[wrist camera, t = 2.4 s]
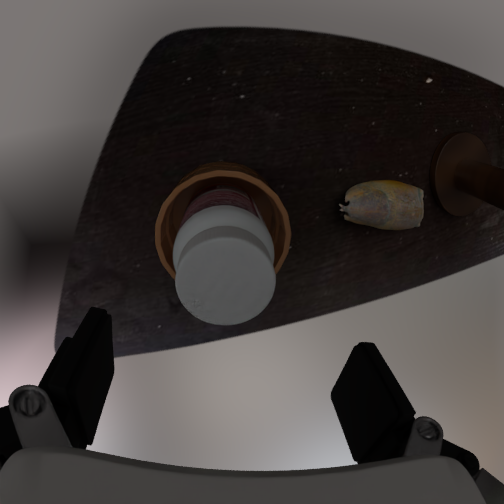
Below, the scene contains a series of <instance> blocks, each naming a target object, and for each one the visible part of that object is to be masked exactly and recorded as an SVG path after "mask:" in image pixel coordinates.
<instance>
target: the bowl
mask: <svg viewBox="0 0 504 504" xmlns="http://www.w3.org/2000/svg"><path fill="white" fill-rule="evenodd" d="M217 183H228V184H233V185H236V186H238V187H240V188H242V189H244V190H245V191H246V192H248V193H249V194H250V195H251V197H252V198H253V199H254V201H255V202H256V204H257V206H258V209H259V211H260V213H261V216H262V218H263V220H264V222H265V224H266V226H267V229H268V231H269V233H270V235H271V237H272V241H273V245H274V263H273V267H274V270H275V274H276V273H277V272H278V271H279V270H280V268H281V266H282V264H283V262H284V260H285V258H286V256H287V255H288V251H289V245H290V239H291V228H290V223H289V217H288V213H287V211H286V209H285V207H284V206H283V204H282V202H281V200H280V198H279V197H278V195H277V194H276V192H275V191H274V190H273V189H272V187H271V186H270V185H269V183H268V182H267V181H266V180H265V179H264V178H263V177H261V176H260V175H259V174H258V173H257V172H256V171H255V170H253V169H251V168H248V167H246V166H244V165H241V164H239V163H235V162H223V161H217V162H213V163H208V164H204V165H201V166H198V167H197V168H195V169H194V170H192V171H190V172H189V173H187V174H186V175H184V176H183V177H182V179H181V180H180V181H179V182H178V183H177V185H176V186H175V187H174V188H173V190H172V191H171V193H170V194H169V196H168V197H167V198H166V200H165V201H164V203H163V204H162V207H161V209H160V212H159V215H158V218H157V221H156V225H155V245H156V248H157V251H158V254H159V257H160V260H161V263H162V264H163V266H164V267H165V268H166V270H167V271H168V272H169V274H170V275H171V276H172V278H173V279H174V280H175V277H176V270H175V268H174V263H173V247H174V243H175V239H176V236H177V233H178V231H179V226H180V224H181V222H182V219H183V216H184V213H185V210H186V207H187V205H188V203H189V201H190V200H191V199H192V197H193V196H194V195H195V194H196V193H197V192H198V191H200V190H201V189H202V188H204V187H207V186H209V185H212V184H217Z"/></svg>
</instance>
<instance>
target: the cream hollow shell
mask: <svg viewBox="0 0 504 504" xmlns="http://www.w3.org/2000/svg"><path fill="white" fill-rule="evenodd" d="M345 194H346V197H345V202H347V201H348V200H349V201H350V203H349V205H348V206H344V205H342V204H339V206H340V207H342V208H341V209H340V211H345V214H344V218H345V220H348V221H351V222H354V223H357V224H363V225H368V226H373V227H375V228H379V229H387V230H403V229H409V228H413V227H419V226H420V222H421V220H422V218H423V212H424V211H423V205H424V204H423V197H424V196H423V195H424V194H423V190H421V189H419V188H417V187H414V186H411V185H408V184H405V183H402V182H399V181H394V180H378V181H370V182H364V183H361V184H357V185H355V186H353V187H351V188H350V189H349V190H348V191H347V192H346V193H345Z"/></svg>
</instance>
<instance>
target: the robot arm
mask: <svg viewBox="0 0 504 504" xmlns="http://www.w3.org/2000/svg"><path fill="white" fill-rule="evenodd" d="M113 375H114V356H113V341H112V318H111V315H110V314H107V311H106V310H105V309H100V308H96V307H91V308H90V309H89V311H88V313H87V314H86V316H85V318H84V319H83V321H82V323H81V324H80V326H79V328H78V329H77V331H76V333H75V335H74V336H73V338H70V337H66V338H65V339H64V340H63V342H62V344H61V346H60V347H59V349H58V351H57V352H56V354H55V356H54V358H53V359H52V361H51V363H50V365H49V367H48V369H47V370H46V372H45V374H44V376H43V378H42V380H41V381H40V383H39V385H38V386H35V385H23V386H21V387H18V388H17V389H15V390H14V391H13V392H12V394H11V395H10V397H9V401H8V402H9V405H8V406H4V407H1V408H0V504H504V484H502V483H501V482H500V481H499V480H497V479H496V478H495V477H494V476H492V475H491V474H490V473H489V472H487V471H486V470H485V469H484V468H482V469H481V470H479V461H478V459H477V458H476V456H475V455H474V454H473V453H471V452H470V451H467V450H465V449H463V448H461V447H459V446H457V445H455V444H453V443H451V442H449V441H446V440H444V439H443V430H442V427H441V426H440V425H439V423H438V422H436V421H435V420H433V419H432V418H429V417H424V416H422V417H418V418H417V419H415V418H414V415H415V414H416V412H415V410H414V408H413V407H412V405H411V403H410V402H409V400H408V398H407V397H406V395H405V393H404V391H403V390H402V388H401V386H400V385H399V383H398V382H397V380H396V378H395V376H394V375H393V373H392V371H391V370H390V368H389V366H388V365H387V363H386V362H385V360H384V359H383V357H382V355H381V354H380V352H379V350H378V349H377V347H376V346H375V344H374V343H369V342H360V343H359V344H358V345H356V346H354V348H353V350H352V352H351V354H350V356H349V358H348V360H347V362H346V364H345V366H344V368H343V370H342V372H341V374H340V376H339V378H338V380H337V382H336V384H335V385H334V387H333V389H332V392H331V400H332V402H333V405H334V407H335V410H336V413H337V416H338V419H339V421H340V424H341V427H342V429H343V432H344V435H345V438H346V440H347V443H348V446H349V449H350V451H351V454H352V457H353V459H354V461H356V462H357V463H358V464H356V465H349V466H341V467H331V468H321V469H307V470H290V471H234V470H233V471H232V470H216V469H203V468H192V467H183V466H175V465H167V464H160V463H154V462H147V461H141V460H136V459H130V458H125V457H120V456H115V455H110V454H105V453H100V452H95V451H90V450H86V447H87V445H92V443H93V440H94V436H95V433H96V430H97V426H98V423H99V419H100V416H101V413H102V409H103V406H104V403H105V400H106V397H107V394H108V391H109V388H110V385H111V381H112V379H113Z"/></svg>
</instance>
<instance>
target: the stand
mask: <svg viewBox="0 0 504 504" xmlns="http://www.w3.org/2000/svg"><path fill="white" fill-rule="evenodd" d="M430 185H431V190H432V193H433V196H434V198H435V200H436V202H437V203H438V205H439V206H440V207H441V208H442V209H443V210H445V211H446V212H448V213H450V214H452V215H454V216H466V215H469V214H471V213H473V212H474V211H475V210H477V209H478V208H479V206H480V205H481V204H482V203H483V201H485V202H487V203H489V204H491V205H493V206H496V207H498V208H500V209H502V210H504V169H501V168H498V167H495V166H492V165H491V161H490V157H489V153H488V151H487V149H486V147H485V145H484V144H483V142H482V141H481V140H480V139H479V138H478V137H476V136H475V135H473V134H470V133H466V132H455V133H452V134H450V135H448V136H446V137H445V138H444V139H443V140H442V141H441V142H440V144H439V145H438V147H437V148H436V150H435V153H434V155H433V158H432V162H431V167H430Z"/></svg>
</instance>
